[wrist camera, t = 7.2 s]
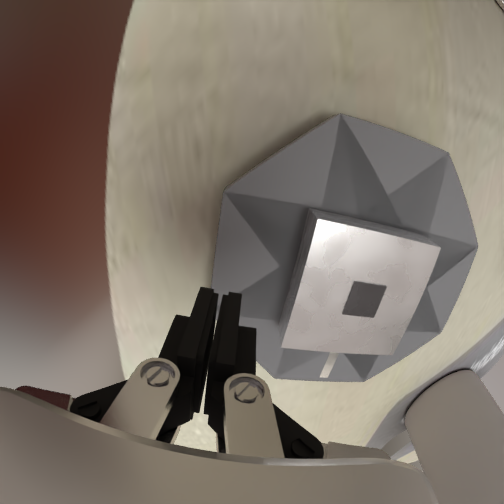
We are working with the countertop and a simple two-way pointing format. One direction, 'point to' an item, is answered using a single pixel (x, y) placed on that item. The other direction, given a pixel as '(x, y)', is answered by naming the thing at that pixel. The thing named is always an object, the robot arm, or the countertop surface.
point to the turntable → (348, 204)
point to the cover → (354, 285)
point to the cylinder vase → (459, 440)
